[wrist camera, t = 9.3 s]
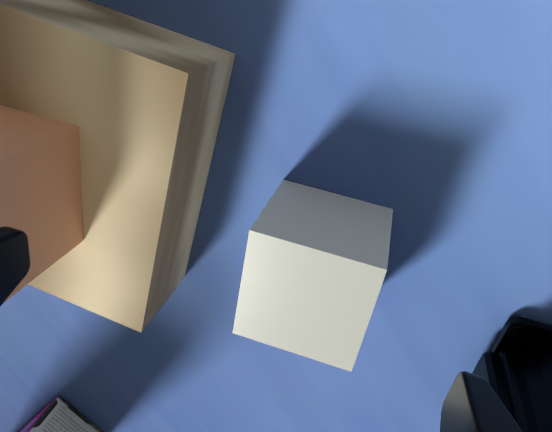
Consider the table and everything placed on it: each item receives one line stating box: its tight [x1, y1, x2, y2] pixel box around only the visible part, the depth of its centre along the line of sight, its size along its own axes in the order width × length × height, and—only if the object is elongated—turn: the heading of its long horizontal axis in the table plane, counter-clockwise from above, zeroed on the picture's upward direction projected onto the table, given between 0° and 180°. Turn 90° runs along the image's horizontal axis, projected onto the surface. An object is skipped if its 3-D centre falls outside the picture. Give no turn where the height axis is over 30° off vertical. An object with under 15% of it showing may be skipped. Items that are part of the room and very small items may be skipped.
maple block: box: [0, 0, 236, 333], centre depth 21 cm, size 12×12×5 cm
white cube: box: [233, 180, 393, 372], centre depth 20 cm, size 5×5×5 cm
